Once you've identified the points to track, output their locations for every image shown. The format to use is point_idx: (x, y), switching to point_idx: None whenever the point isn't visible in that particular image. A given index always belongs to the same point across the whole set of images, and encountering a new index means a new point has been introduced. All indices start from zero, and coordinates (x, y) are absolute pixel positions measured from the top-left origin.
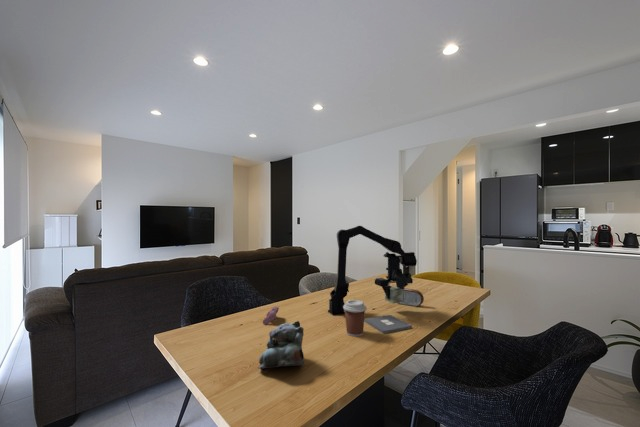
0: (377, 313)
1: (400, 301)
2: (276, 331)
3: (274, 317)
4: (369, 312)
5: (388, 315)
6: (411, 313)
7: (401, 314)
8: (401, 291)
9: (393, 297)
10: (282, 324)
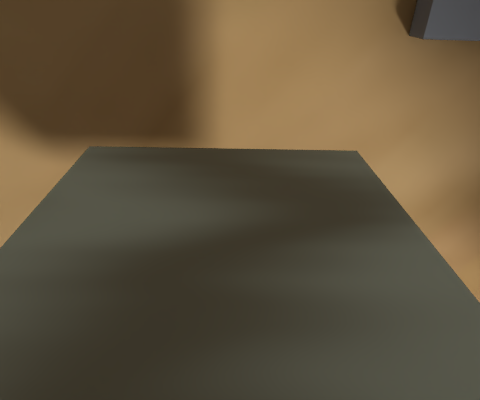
0: (424, 202)
1: (157, 154)
2: None
3: None
4: (464, 252)
5: (466, 28)
6: (26, 26)
7: (194, 56)
8: (17, 337)
9: (389, 214)
10: None
